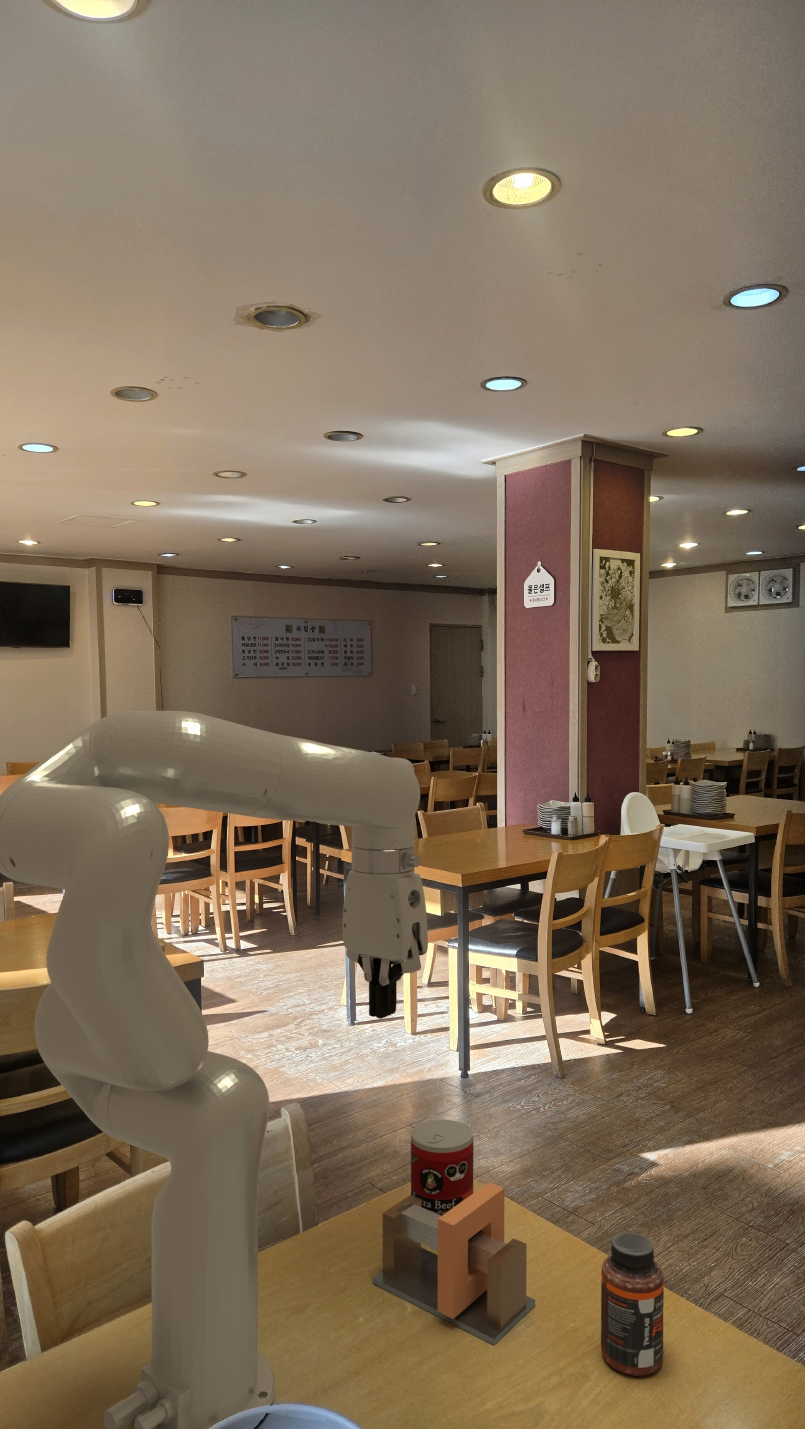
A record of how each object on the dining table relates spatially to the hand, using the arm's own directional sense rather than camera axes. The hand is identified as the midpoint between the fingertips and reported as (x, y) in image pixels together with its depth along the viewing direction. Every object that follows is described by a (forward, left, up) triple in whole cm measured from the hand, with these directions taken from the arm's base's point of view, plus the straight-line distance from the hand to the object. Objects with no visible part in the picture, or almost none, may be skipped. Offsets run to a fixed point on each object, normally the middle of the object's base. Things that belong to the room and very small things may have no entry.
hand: (382, 1014), depth 111 cm
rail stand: (-3, -12, -27) cm, 30 cm away
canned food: (+8, -3, -27) cm, 29 cm away
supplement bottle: (0, -32, -27) cm, 42 cm away
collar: (-3, -15, -26) cm, 30 cm away
